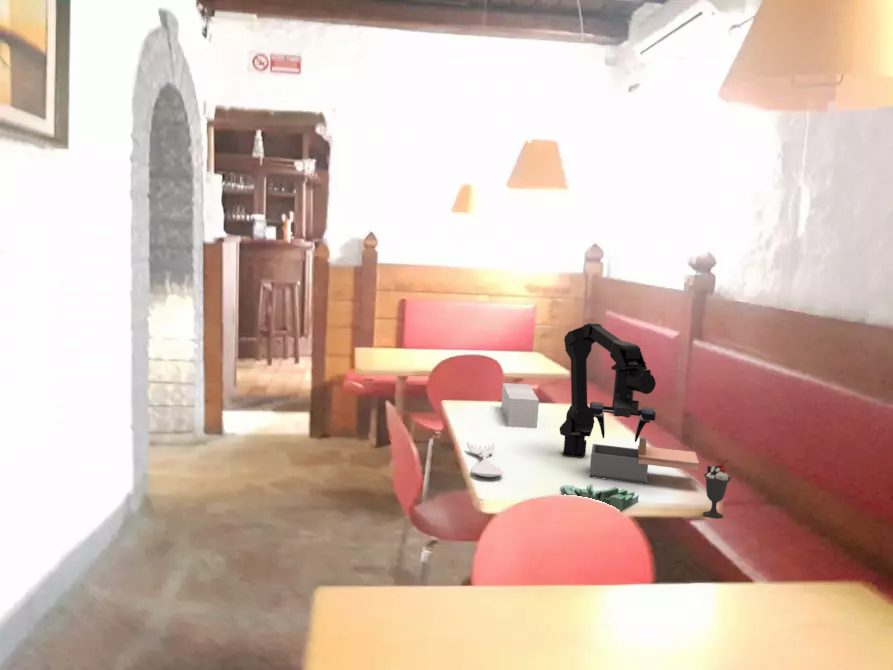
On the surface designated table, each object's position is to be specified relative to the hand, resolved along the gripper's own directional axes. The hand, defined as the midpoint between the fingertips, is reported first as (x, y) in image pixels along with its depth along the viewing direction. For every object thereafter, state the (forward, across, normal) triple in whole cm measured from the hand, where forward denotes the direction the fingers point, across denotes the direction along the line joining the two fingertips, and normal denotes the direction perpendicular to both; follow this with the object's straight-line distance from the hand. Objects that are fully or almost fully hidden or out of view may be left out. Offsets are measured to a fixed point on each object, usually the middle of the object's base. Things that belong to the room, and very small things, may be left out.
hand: (619, 439), depth 229 cm
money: (+11, -3, -27) cm, 29 cm away
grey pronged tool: (+11, -38, -7) cm, 41 cm away
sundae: (+11, +24, -27) cm, 38 cm away
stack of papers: (+11, -37, +64) cm, 75 cm away
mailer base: (+10, 0, 0) cm, 11 cm away
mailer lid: (+5, +14, 0) cm, 15 cm away
